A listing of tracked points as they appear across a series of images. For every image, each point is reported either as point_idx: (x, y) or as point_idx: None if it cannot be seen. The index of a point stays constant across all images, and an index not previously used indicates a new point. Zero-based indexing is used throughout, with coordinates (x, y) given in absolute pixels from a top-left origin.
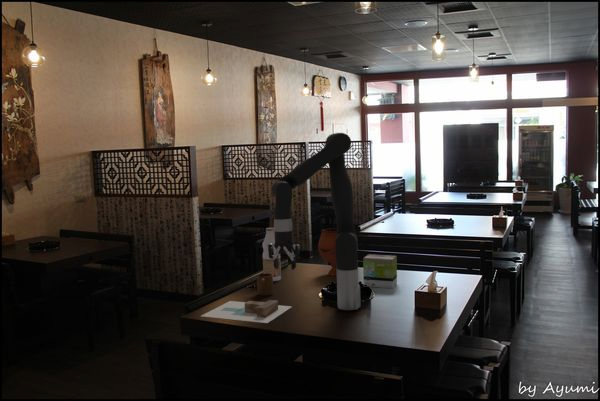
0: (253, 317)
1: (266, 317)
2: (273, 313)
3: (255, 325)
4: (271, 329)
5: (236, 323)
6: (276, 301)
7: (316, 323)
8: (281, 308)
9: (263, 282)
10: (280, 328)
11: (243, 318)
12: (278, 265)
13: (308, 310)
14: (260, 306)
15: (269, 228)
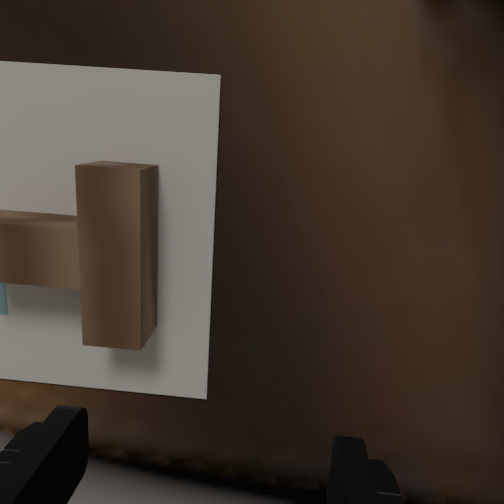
0: None
1: (160, 320)
2: (165, 245)
3: (162, 429)
4: (261, 465)
5: None
6: (140, 192)
7: (461, 352)
8: (168, 136)
9: None
10: (298, 447)
11: (52, 356)
12: (68, 428)
13: (353, 128)
14: (95, 322)
15: None
